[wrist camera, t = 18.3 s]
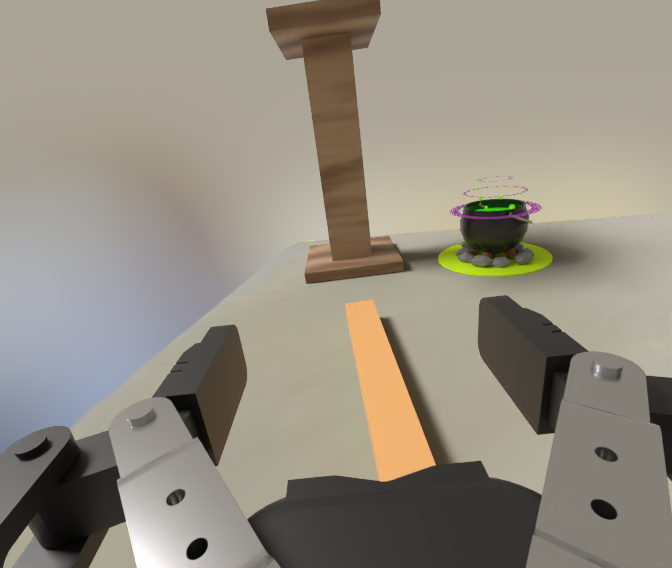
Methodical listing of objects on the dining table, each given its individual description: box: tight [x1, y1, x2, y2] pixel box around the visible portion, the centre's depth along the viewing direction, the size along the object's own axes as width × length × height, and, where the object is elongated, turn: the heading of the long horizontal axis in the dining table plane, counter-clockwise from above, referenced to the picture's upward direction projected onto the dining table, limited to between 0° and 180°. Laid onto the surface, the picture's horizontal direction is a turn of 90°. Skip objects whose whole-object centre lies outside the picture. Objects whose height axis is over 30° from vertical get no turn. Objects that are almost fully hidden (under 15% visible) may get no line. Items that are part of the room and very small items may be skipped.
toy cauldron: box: [438, 188, 553, 277], centre depth 49 cm, size 15×15×11 cm
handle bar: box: [345, 300, 436, 482], centre depth 28 cm, size 22×3×2 cm, turn 4°
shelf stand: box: [266, 0, 404, 283], centre depth 50 cm, size 16×14×32 cm
